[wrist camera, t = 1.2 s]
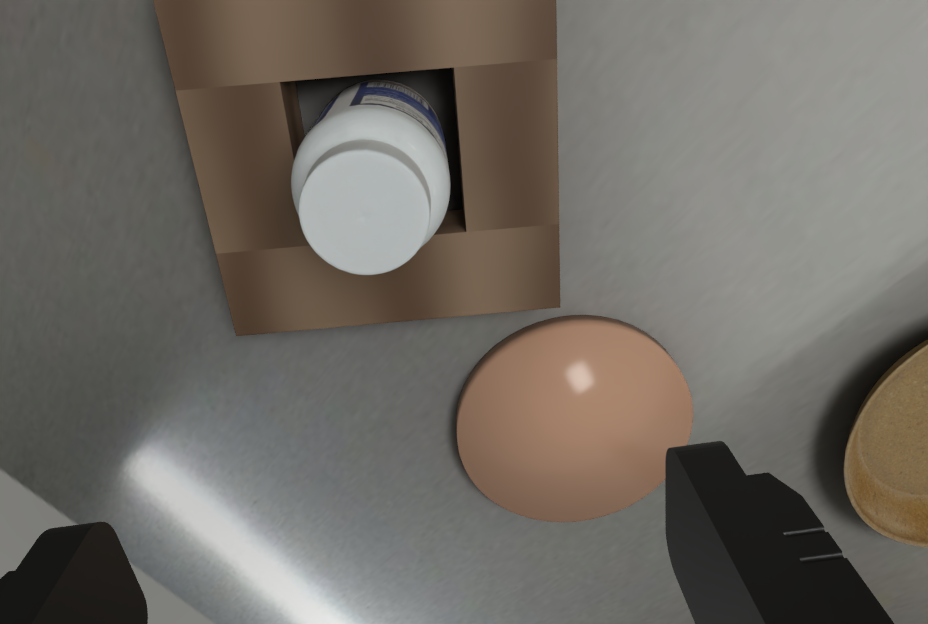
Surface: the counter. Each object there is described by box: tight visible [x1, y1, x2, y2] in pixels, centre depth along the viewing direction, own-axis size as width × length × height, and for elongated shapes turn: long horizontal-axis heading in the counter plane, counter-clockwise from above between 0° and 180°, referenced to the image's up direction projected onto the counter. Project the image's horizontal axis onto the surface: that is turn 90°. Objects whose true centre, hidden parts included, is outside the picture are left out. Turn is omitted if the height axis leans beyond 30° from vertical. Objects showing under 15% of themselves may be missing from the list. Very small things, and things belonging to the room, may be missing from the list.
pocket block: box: [153, 0, 560, 336], centre depth 28 cm, size 14×14×3 cm
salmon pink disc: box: [456, 315, 693, 522], centre depth 36 cm, size 12×12×1 cm
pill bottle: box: [291, 80, 451, 275], centre depth 25 cm, size 5×5×10 cm
